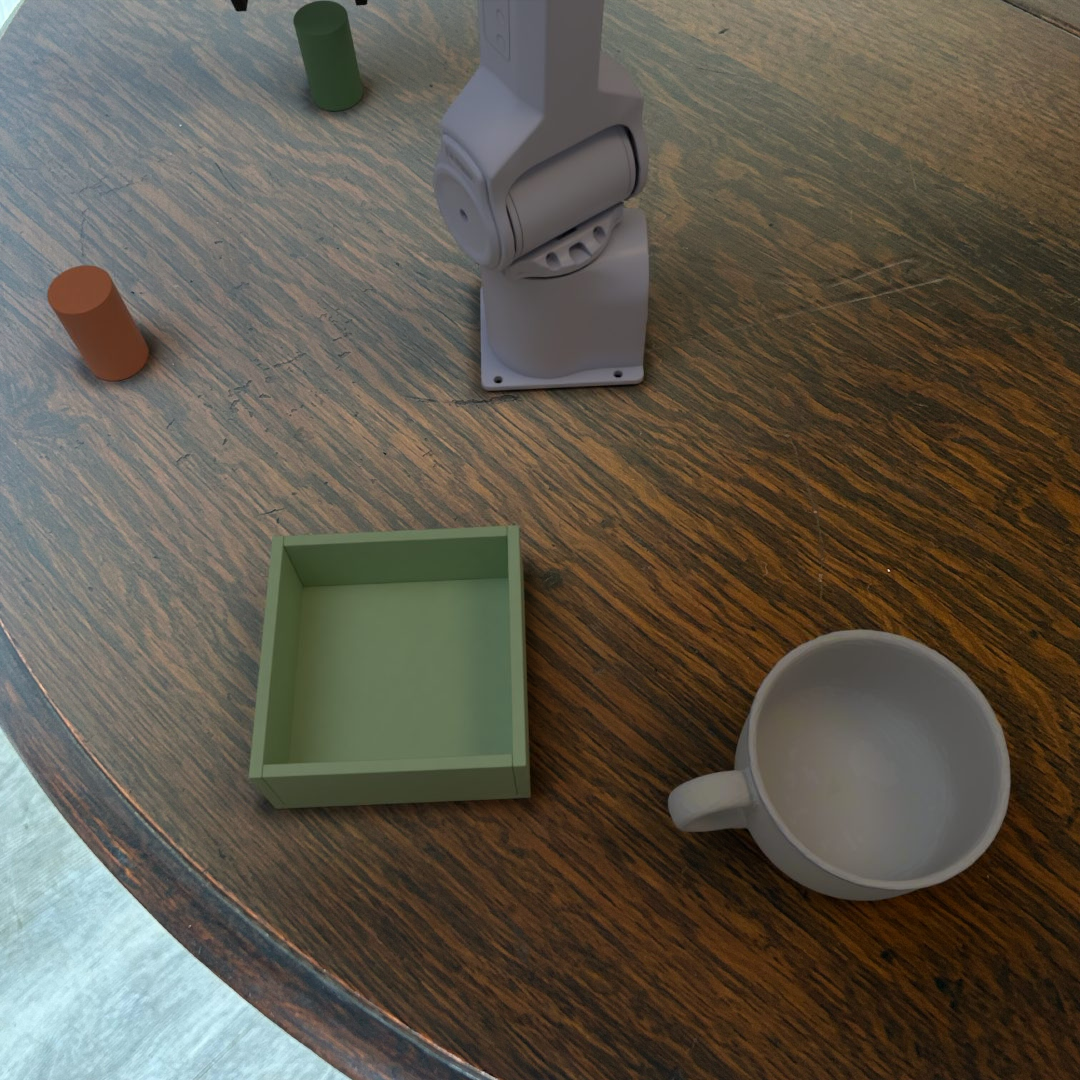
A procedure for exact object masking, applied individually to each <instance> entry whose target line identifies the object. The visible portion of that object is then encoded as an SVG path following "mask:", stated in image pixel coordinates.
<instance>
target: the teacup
mask: <svg viewBox="0 0 1080 1080" xmlns="http://www.w3.org/2000/svg"><path fill="white" fill-rule="evenodd" d="M755 693H756V694H755V695H754V698H753V700H752V703H751V706H750V710H749V713H748V715H747V717H746V719H745V722H744V723H743V727H742V729H741V732H740V734H739V738H738V742H737V746H736V751H735V756H734V767H733V769H734V770H727V771H726V770H725V771H719V772H713V773H709V774H704V775H700V776H698V777H695V778H692V779H690V780H687V781H685V782H683V783H681V784H679V785H678V786H676V787H675V788H674V789H673V790H672V791H671V792H670V793H669V795H668V798H667V808H668V812H669V815H670V818H671V820H672V822H673V824H674V825H675V827H676V828H677V829H679V830H680V831H683V832H686V833H702V832H703V833H704V832H711V831H712V832H713V831H721V830H727V829H739V830H740V829H747V830H748V831H749V834H750V835H751V837H752V838H753V840H754V841H755V843H756V844H757V846H758V847H759V849H760V850H761V851H762V853H763V854H764V855H765V856H766V857H767V859H768V860H769V861H770V862H771V863H772V864H773V865H774V866H775V867H776V868H778V869H779V870H780V872H782V873H784V874H785V875H786V876H787V877H789V878H790V879H792V880H793V881H795V882H797V883H798V884H800V885H801V886H803V887H806V888H807V889H810V890H812V891H814V892H816V893H819V894H822V895H825V896H828V897H833V898H836V899H840V900H847V901H858V902H859V901H861V902H864V901H865V902H866V901H869V902H870V901H881V900H886V899H891V898H896V897H899V896H903V895H907V894H909V893H912V892H914V891H918V890H920V889H926V888H928V887H929V888H930V887H932V886H937V885H940V884H943V883H945V882H946V881H948V880H950V879H952V878H955V877H956V876H958V875H959V874H961V873H963V872H964V871H965V870H967V869H968V868H969V867H971V866H972V865H973V864H974V863H976V862H977V860H978V859H979V858H980V857H982V856H983V855H984V854H985V853H986V852H987V850H988V849H989V847H990V846H991V844H992V843H993V841H994V840H995V838H996V837H997V834H998V833H999V831H1000V829H1001V827H1002V826H1003V822H1004V821H1005V820H1004V819H1005V817H1006V815H1007V812H1008V806H1009V801H1010V794H1011V785H1012V783H1011V782H1012V780H1011V767H1010V766H1011V763H1010V762H1011V761H1010V755H1009V750H1008V746H1007V741H1006V738H1005V733H1004V731H1003V728H1002V725H1001V724H1000V722H999V720H998V717H997V716H996V714H995V711H994V709H993V708H992V706H991V704H990V702H989V701H988V700H987V698H986V697H985V695H984V693H983V692H982V691H981V689H979V687H978V686H977V685H976V683H974V682H973V680H972V679H971V678H970V677H969V675H967V673H966V672H964V671H963V670H962V669H961V668H960V667H959V666H958V665H956V664H955V663H954V662H952V661H951V660H949V659H948V658H947V657H946V656H944V655H942V654H941V653H939V652H938V651H937V650H935V649H932V648H930V647H928V646H926V645H925V644H924V643H921V642H919V641H916V640H914V639H911V638H908V637H906V636H903V635H900V634H895V633H892V632H887V631H881V630H874V629H873V630H872V629H858V628H857V629H850V630H849V629H847V630H839V631H831V632H829V633H826V634H823V635H819V636H817V637H816V638H814V639H810V640H808V641H806V642H803V643H802V644H799V645H798V646H797V647H795V648H793V649H791V650H790V651H789V652H787V653H786V654H785V655H784V656H783V657H781V658H780V659H779V660H778V661H777V662H776V663H775V665H774V666H773V667H772V669H770V671H769V672H768V674H767V675H766V676H765V677H764V679H763V681H762V682H761V684H760V686H759V688H758V689H757V691H756V692H755Z"/></svg>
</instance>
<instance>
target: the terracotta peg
mask: <svg viewBox="0 0 1080 1080" xmlns="http://www.w3.org/2000/svg"><path fill="white" fill-rule="evenodd" d="M46 297H47V302H48V304H49V306H50V307H51V309H52V311H53V312H54V314H55V316H56V317H57V319H58V320H59V322H60V323H61V325H62V327H63V328H64V330H65V332H66V333H67V334H68V336H69V338H70V339H71V341H72V342H73V344H74V346H75V347H76V349H77V351H78V352H79V354H80V355H81V357H82V359H83V360H84V361H85V363H86V365H87V366H88V369H90V371H91V373H92V374H93V375H94V376H95V377H97V378H99V379H101V380H104V381H109V382H115V381H122V380H126V379H129V378H131V377H133V376H135V375H136V374H137V373H139V371H141V370H142V369H143V367H144V366H145V365H146V363H147V361H148V360H149V359H148V358H149V353H150V352H149V347H148V344H147V342H146V341H145V339H144V337H143V335H142V333H141V331H140V329H139V327H138V325H137V324H136V322H135V320H134V318H133V315H132V314H131V312H130V311H129V309H128V307H127V305H126V303H125V301H124V299H123V298H122V295H121V294H120V291H119V290H118V288H117V286H116V284H115V282H114V281H113V278H112V276H111V275H110V274H109V272H108V271H106V270H105V269H103V268H101V267H99V266H95V265H90V264H89V265H86V264H84V265H78V266H74V267H71V268H68V269H66V270H64V271H62V272H61V273H60V274H58V275H57V276H56V277H55V278H54V279H53V280H52V281H51V283H50V285H49V286H48V288H47V292H46Z"/></svg>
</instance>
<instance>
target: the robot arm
mask: <svg viewBox="0 0 1080 1080" xmlns="http://www.w3.org/2000/svg"><path fill="white" fill-rule="evenodd" d="M368 1H369V0H354V2H355V6H366V5H368ZM230 2H231V4H232V6H233V8H234V10H235V12H239V13H240V12H247V11H248V3H249V0H230ZM604 8H605V0H477V18H478V39H479V41H478V42H479V59H480V60H479V66H478V67H477V69H476V70H475V72H474V74H472V76H471V78H470V79H469V80H468V82H467V83H466V84H465V86H464V87H463V89H462V90H461V91H460V93H459V94H458V95H457V97H456V98H455V99H454V101H453V102H452V103H451V105H450V106H449V107H448V109H447V110H446V111H445V113H444V115H442V117H441V119H440V121H439V134H440V149H439V152H438V154H437V156H436V158H435V161H434V167H433V168H434V171H433V174H432V187H433V188H432V189H433V193H434V197H435V201H436V204H437V208H438V210H439V212H440V215H441V217H442V220H443V221H444V224H445V226H446V228H447V229H448V231H449V233H450V234H451V235H450V236H452V238H453V240H454V241H455V243H456V244H457V245H458V247H459V248H460V249H461V251H462V252H463V253H464V254H465V255H466V256H467V258H469V259H470V260H471V261H472V262H474V263H475V264H477V265H479V270H480V271H479V272H480V280H481V287H480V289H479V299H480V300H479V302H480V305H479V306H480V307H479V308H480V309H479V310H480V312H479V313H480V382H481V387H482V388H483V389H484V390H485V391H490V392H491V391H511V390H513V391H514V390H534V389H553V388H554V389H555V388H556V389H557V388H577V387H579V388H580V387H596V386H597V387H598V386H618V385H619V386H620V385H637V384H640V383H642V381H644V376H645V372H644V359H645V358H644V357H645V344H646V333H647V322H648V320H649V319H648V318H649V294H650V254H649V252H650V251H649V237H648V226H647V220H646V214H645V211H644V210H643V209H640V208H631V207H624V206H625V205H624V203H625V202H624V201H629V200H631V199H632V198H634V197H637V196H639V194H640V193H642V192H643V190H644V189H645V187H646V184H647V181H648V176H649V164H650V163H649V162H650V152H649V146H648V141H647V137H646V134H645V130H644V124H643V112H644V111H643V110H644V103H645V96H644V95H643V92H641V90H640V88H639V86H638V85H637V84H636V82H635V81H634V79H633V78H632V76H631V75H630V74H629V72H628V71H626V69H625V68H624V67H623V66H622V65H621V64H620V63H619V62H618V61H617V60H616V59H615V58H613V57H612V56H611V55H610V54H609V53H607V52H605V51H604V50H602V38H603V37H602V36H603V25H604V23H603V22H604V10H605V9H604ZM616 376H620V377H616ZM497 381H501V382H498V383H497Z"/></svg>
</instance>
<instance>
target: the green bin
mask: <svg viewBox="0 0 1080 1080" xmlns="http://www.w3.org/2000/svg"><path fill="white" fill-rule="evenodd" d="M523 564H524V563H523V552H522V541H521V530H520V525H518V524H513V525H512V524H511V525H494V526H493V525H490V526H472V527H471V526H470V527H467V526H466V527H449V528H448V527H445V528H426V529H425V528H424V529H406V530H404V529H403V530H383V531H382V530H381V531H362V532H361V531H359V532H358V531H357V532H339V533H318V534H317V533H316V534H313V533H312V534H296V535H294V534H293V535H292V534H291V535H273V536H272V537H271V546H270V555H269V566H268V575H267V583H266V596H265V605H264V616H263V626H262V636H261V647H260V655H259V657H260V658H259V665H258V666H259V667H258V677H257V684H256V685H257V686H256V697H255V707H254V716H253V726H252V727H253V728H252V737H251V747H250V755H249V756H250V758H249V767H248V779H249V780H250V781H251V782H252V784H253V785H254V786H255V787H256V788H257V789H258V790H259V791H260V793H261V794H262V795H263V796H264V797H265V799H267V801H268V802H269V803H270V804H271V805H272V806H273V807H274V809H276V810H280V809H281V810H282V809H301V808H302V809H306V808H327V807H328V808H329V807H349V806H350V807H351V806H352V807H353V806H371V805H373V806H374V805H396V804H399V805H400V804H419V803H420V804H421V803H442V802H443V803H444V802H464V801H486V800H487V801H488V800H511V799H530V798H531V797H532V796H531V794H532V793H531V765H530V763H531V761H530V735H529V730H530V729H529V704H528V703H529V702H528V701H529V699H528V673H527V670H528V669H527V640H526V638H527V637H526V609H525V580H524V579H525V578H524V565H523Z"/></svg>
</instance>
